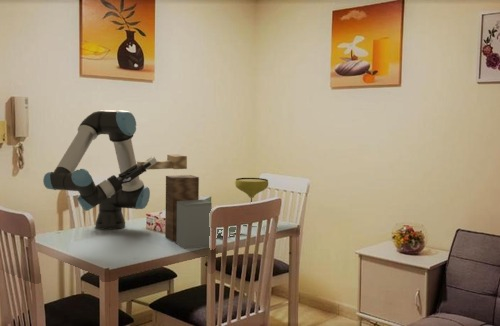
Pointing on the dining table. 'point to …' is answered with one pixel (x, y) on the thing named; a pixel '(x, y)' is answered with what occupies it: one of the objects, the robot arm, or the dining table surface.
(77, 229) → the dining table surface
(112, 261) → the dining table surface
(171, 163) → the ash mallet
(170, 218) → the tall walnut stand
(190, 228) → the grey rectangular block
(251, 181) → the cocktail glass
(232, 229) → the l-shaped corner panel
